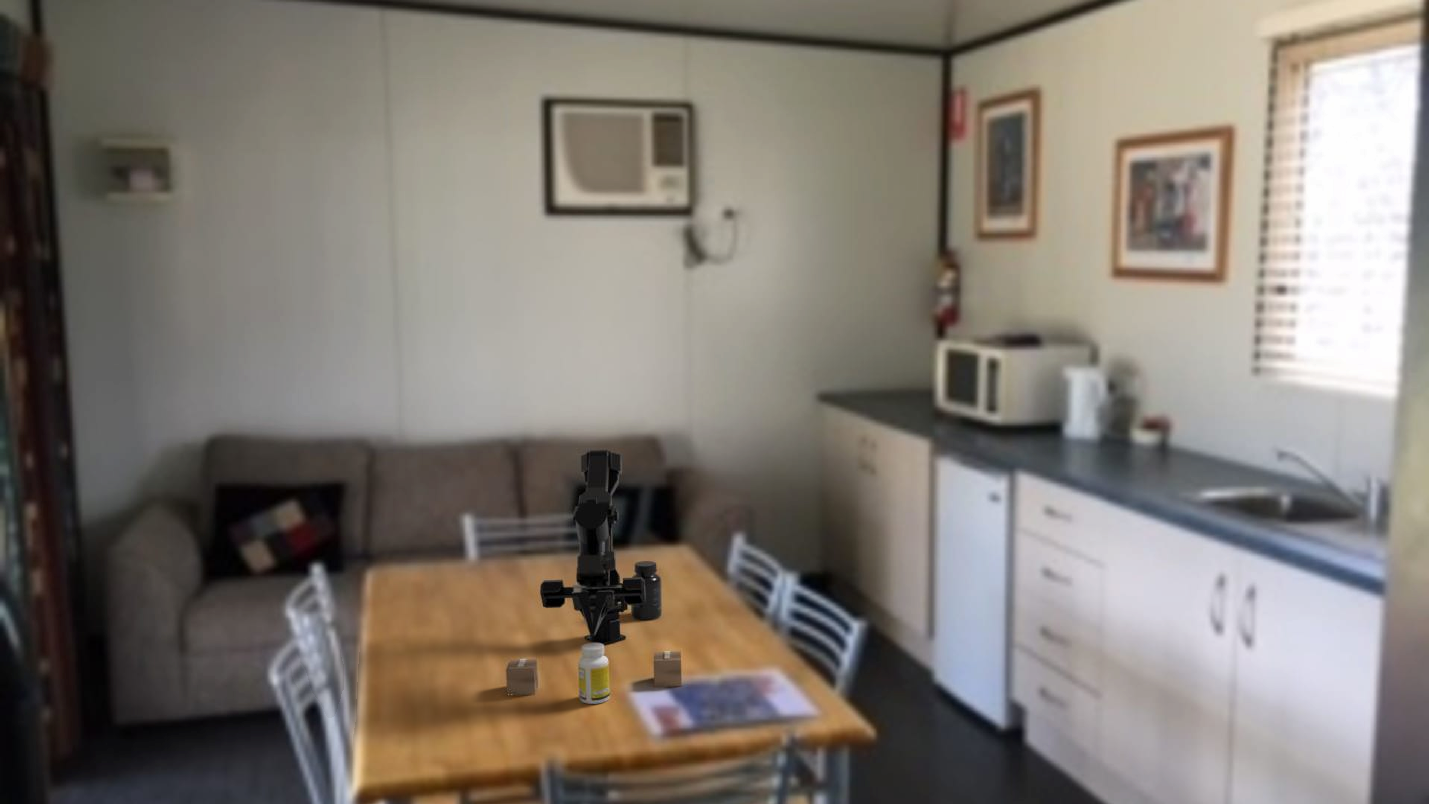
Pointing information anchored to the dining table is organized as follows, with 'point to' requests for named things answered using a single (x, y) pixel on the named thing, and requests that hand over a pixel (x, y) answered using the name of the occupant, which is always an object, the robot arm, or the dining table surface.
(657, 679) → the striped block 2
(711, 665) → the dining table surface
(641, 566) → the supplement bottle
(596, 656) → the supplement bottle
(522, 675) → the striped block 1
